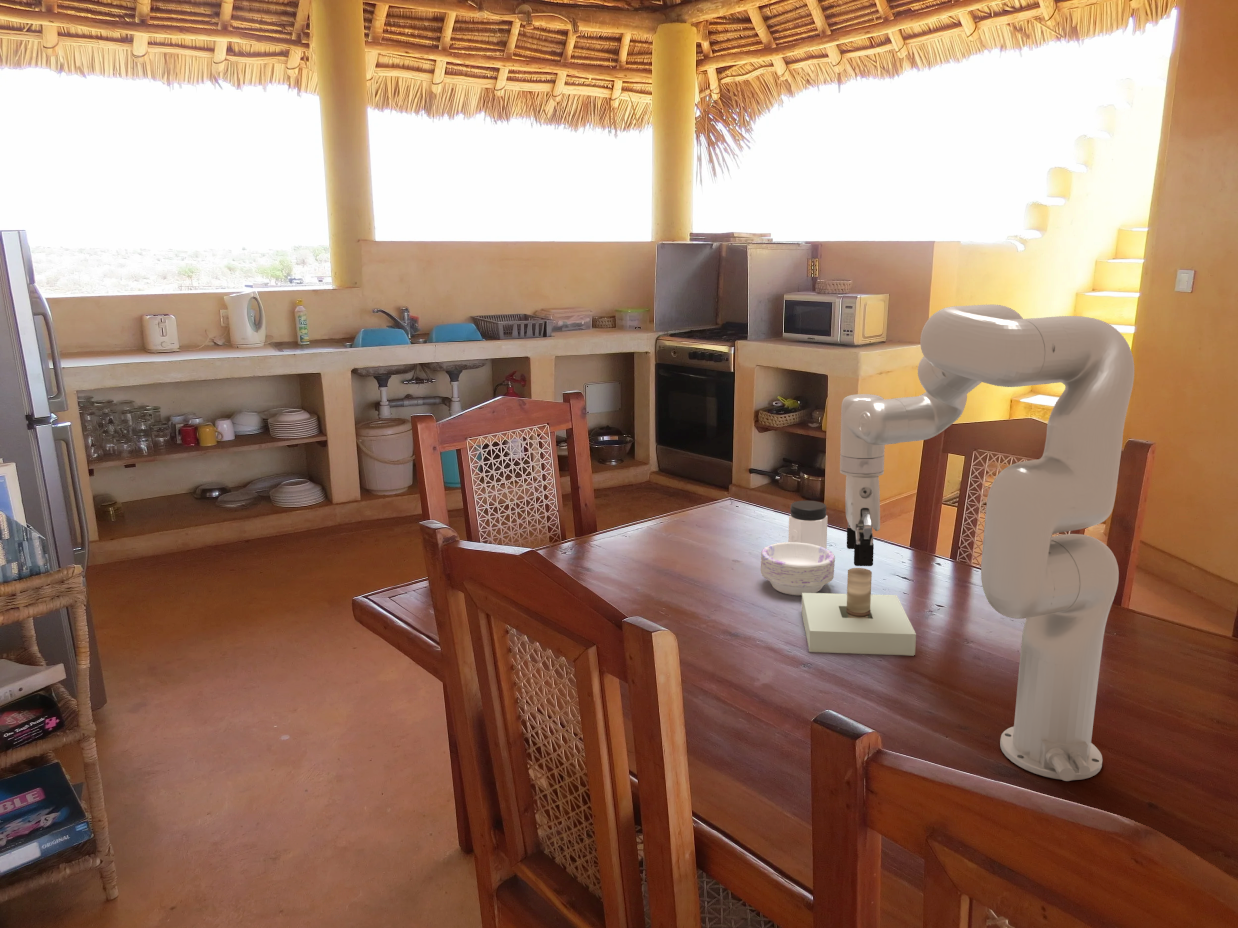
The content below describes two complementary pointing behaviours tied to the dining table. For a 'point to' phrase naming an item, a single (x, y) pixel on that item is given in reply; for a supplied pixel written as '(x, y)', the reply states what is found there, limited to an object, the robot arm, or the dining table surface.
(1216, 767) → the dining table surface
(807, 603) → the board
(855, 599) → the peg
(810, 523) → the jar
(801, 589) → the paper bowls
